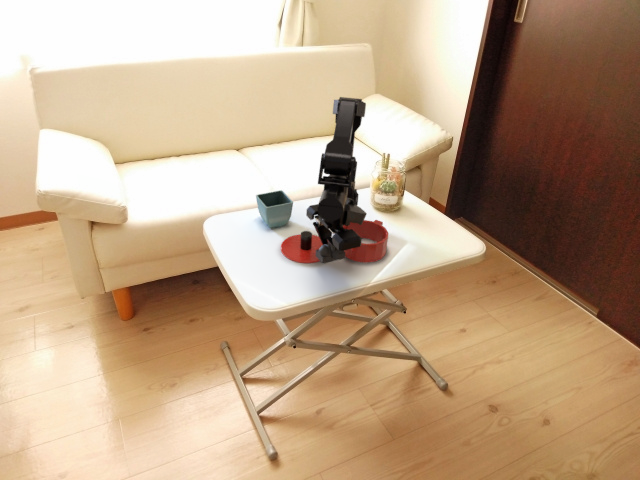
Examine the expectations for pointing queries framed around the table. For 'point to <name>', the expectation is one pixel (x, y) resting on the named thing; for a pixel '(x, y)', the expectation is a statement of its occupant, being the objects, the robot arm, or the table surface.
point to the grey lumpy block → (327, 254)
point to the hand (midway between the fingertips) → (330, 253)
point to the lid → (301, 247)
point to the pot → (368, 250)
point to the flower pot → (274, 208)
